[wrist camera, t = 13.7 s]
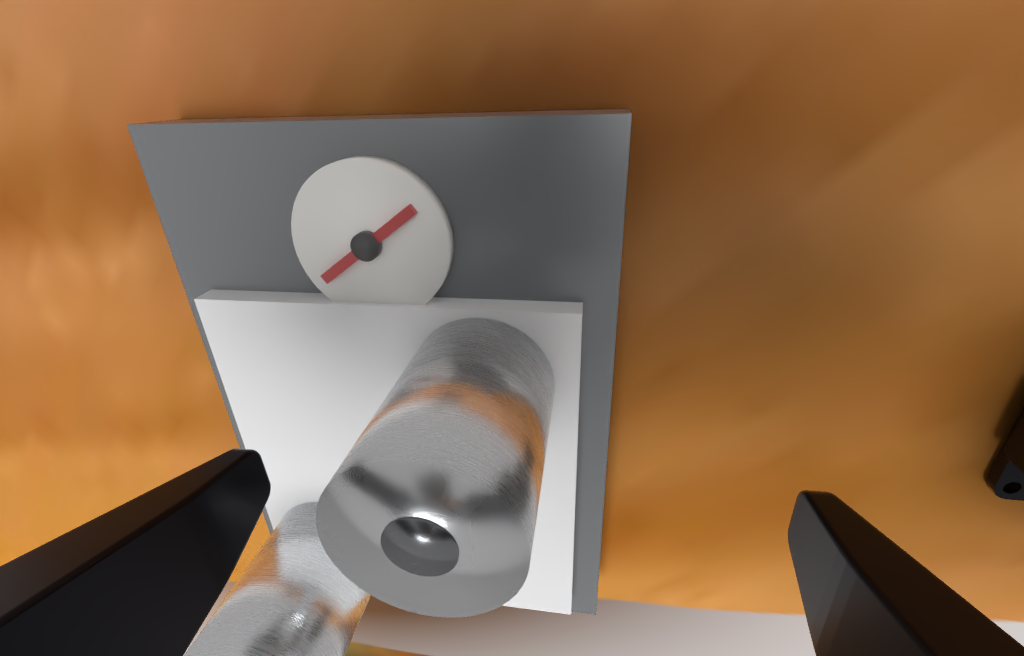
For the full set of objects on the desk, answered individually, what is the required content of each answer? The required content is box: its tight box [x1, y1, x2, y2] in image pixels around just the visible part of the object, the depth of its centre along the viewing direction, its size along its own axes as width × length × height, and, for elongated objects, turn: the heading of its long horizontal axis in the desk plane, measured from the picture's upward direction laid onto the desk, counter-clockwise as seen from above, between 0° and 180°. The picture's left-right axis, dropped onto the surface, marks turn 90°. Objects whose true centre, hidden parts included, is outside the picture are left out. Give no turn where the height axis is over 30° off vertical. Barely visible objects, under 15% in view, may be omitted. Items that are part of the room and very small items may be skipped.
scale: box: [127, 109, 632, 615], centre depth 18 cm, size 14×19×3 cm
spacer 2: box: [316, 318, 555, 618], centre depth 12 cm, size 4×4×6 cm
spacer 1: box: [184, 502, 371, 656], centre depth 17 cm, size 4×4×6 cm
